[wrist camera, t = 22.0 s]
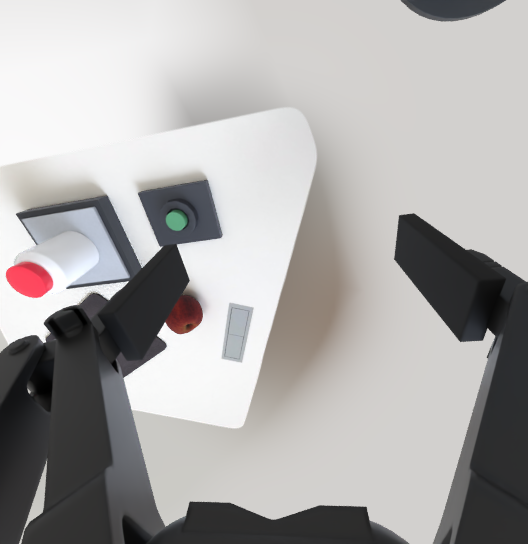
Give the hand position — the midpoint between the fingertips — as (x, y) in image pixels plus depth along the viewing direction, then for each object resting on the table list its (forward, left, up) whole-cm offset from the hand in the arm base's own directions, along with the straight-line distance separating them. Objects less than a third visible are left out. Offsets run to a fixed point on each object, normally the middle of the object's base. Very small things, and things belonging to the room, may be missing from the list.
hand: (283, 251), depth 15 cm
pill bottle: (+21, -33, -26) cm, 47 cm away
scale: (+21, -33, -30) cm, 49 cm away
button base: (+11, -15, -30) cm, 35 cm away
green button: (+11, -15, -27) cm, 33 cm away
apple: (+31, -13, -30) cm, 45 cm away
